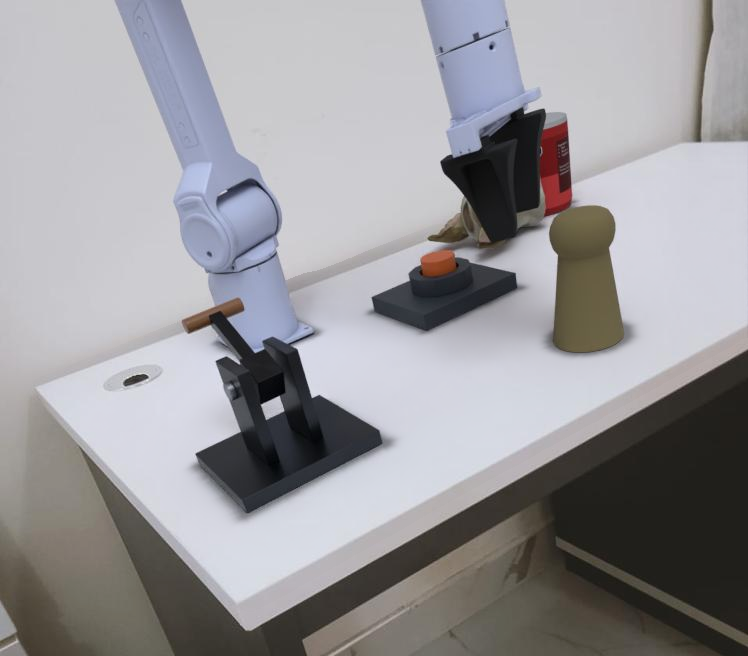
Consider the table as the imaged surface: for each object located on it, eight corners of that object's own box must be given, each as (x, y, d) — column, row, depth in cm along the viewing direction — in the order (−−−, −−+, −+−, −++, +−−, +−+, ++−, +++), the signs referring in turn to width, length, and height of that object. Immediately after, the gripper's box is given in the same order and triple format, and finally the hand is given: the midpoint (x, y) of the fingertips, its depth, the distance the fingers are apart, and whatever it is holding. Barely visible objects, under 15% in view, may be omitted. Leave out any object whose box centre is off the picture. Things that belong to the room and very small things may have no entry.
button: (416, 275, 80) (413, 259, 79) (443, 264, 81) (440, 248, 80) (436, 281, 77) (433, 264, 76) (463, 269, 78) (461, 252, 78)
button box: (374, 311, 83) (367, 281, 81) (460, 273, 87) (455, 243, 85) (426, 330, 75) (420, 297, 73) (517, 288, 79) (514, 255, 77)
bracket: (199, 465, 62) (160, 369, 57) (322, 406, 66) (295, 312, 61) (247, 513, 55) (206, 407, 50) (382, 443, 59) (357, 339, 54)
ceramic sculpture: (565, 147, 88) (471, 195, 83) (574, 220, 93) (485, 270, 88) (502, 147, 96) (413, 191, 91) (513, 215, 101) (429, 260, 96)
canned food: (502, 212, 103) (492, 126, 97) (555, 196, 104) (548, 109, 98) (528, 222, 97) (519, 131, 91) (583, 205, 98) (578, 113, 92)
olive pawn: (626, 347, 63) (622, 214, 57) (552, 355, 65) (541, 227, 58) (622, 319, 68) (618, 192, 62) (553, 327, 69) (542, 205, 63)
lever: (184, 334, 61) (178, 311, 59) (239, 311, 62) (235, 288, 60) (244, 412, 56) (240, 390, 54) (301, 385, 58) (300, 363, 56)
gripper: (496, 35, 48) (543, 241, 55) (547, 10, 59) (581, 186, 65) (400, 73, 52) (455, 262, 59) (464, 43, 62) (504, 206, 69)
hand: (516, 223), depth 62 cm, fingers open, 7 cm apart
